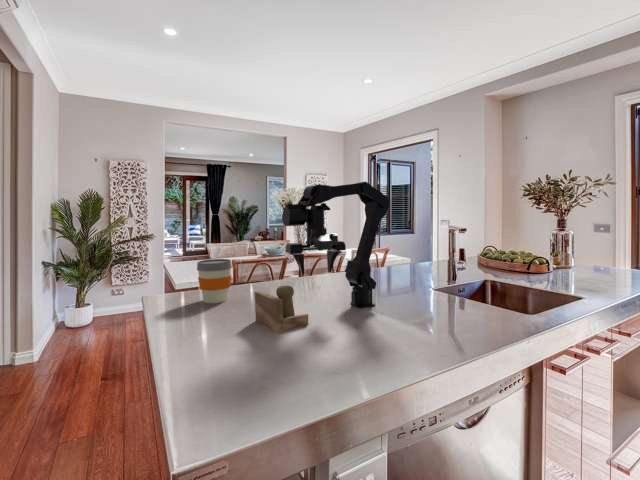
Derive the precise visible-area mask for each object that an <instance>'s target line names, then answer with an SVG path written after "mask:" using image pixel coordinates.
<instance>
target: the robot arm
mask: <svg viewBox="0 0 640 480" xmlns="http://www.w3.org/2000/svg"><path fill="white" fill-rule="evenodd" d="M352 195H353V196H354V195H357V196H358V197H359V200H360V201H361V203H363V204H364V214H365V222H364V224H363V228H362V233H361V234H360V235H361V236H360V239H359V243H358V246H357V249H356V252H355V256H354V258H353V259H352V260H347V263H346V268H345V269H344V272H345V278H346V280H347V282H348V283H349V286H350V287H352V289H351V293H350V294H351V296H350V297H351V298H350V299H351V301H350V305H352V306H354V307H356V308H358V309H359V308H360V309H361V308H366V307H367V308H368V307H373V306H376V303H374V302H373V290H375V289H376V286H377V281H375V280H374V278H373V277H372V276H371V273H372V272H371V271H372V268H371V267H372V266H371V263H370V258H371V256H372V255H371V254H372V251H373V249H374V248H373V247H374V243H375V241H376V237H377V234H378V230H379V226H380V222H381V221H382V219H383V218H384V217H385V216H386V215H387V213H388V210H389V209H390V204H391V202H390V199H389V197H388V196H387V195H386V194H383V192H382V191H380V190H378V189H377V188H376V187H373V186H372V184H370V183H369V182H367V181H361V182H356V183H350V184H343V185H327V184H314V185H308V186H306V187H305V188H304V189H303V192H302V196H301V197H300V198H299V201H298V202H297V204H294V203H284V209H283V211H282V214H281V219H282V220H281V221H282V223H283V226H285V227H296V226H297V227H298V226H301V227H302V226H304V225H305V224H306V227H305V229H304V230H305V231H304V232H306V240H305V244H302V243H300V242H291V243H290V242H289V243H288V242H287V244H286V245H285V247H284V248H285V253H287V254H289V255H290V256H292V257H293V259H294V260H295V262H296V264H297V266H298V269H299V271H300V273H301V275H302V276H304V275H305V264H304V257H305V254H304V253H303V252H304V251H317V250H318V251H326V256H327V257H326V259H327V260H326V261H327V263H326V265H327V271H328V273H329V274H330V273H332V270H333V266H334V263H335V261H336V259H337V257H338V255H339V254H342V253H343V251H346V250H347V249H346V247H347V246H346V242H344V241H343V240H339V237H338V236H339V234H337V233H335V232H334V233H330V234H328V233H327V228H325V211H331V208H330V206H328V204H326V203H325V202H328V201H331V200H332V199H335V198H340V197H346V196H352ZM318 204H320V205H318ZM308 207H310V208H308Z"/></svg>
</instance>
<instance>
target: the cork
mask: <svg viewBox="0 0 640 480" xmlns="http://www.w3.org/2000/svg"><path fill="white" fill-rule="evenodd" d="M275 293H276V297H277V298H279V299H281V300H282V302H283V318H287V317H291V316H296V314H295V308H294V307H295V306H294V302H293V301H294V300H293V296H294V294H295V290H294V287H293V286H291V285H279V286H278V287H277V289H276V292H275Z"/></svg>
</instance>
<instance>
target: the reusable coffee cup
mask: <svg viewBox="0 0 640 480" xmlns="http://www.w3.org/2000/svg"><path fill="white" fill-rule="evenodd" d="M231 269H232V261H231V259H230V258H229V259H226V258H212V259H204V260H199V261H197V263H196V270H197V272H198V277H197V278H198V284H199V289H200V290H201V293H202V298H203V303H205V304H220V303H221V304H222V303H225V302H226V301H229V292H230V288H231V283H232V274H231V272H232V271H231Z"/></svg>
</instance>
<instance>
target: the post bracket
mask: <svg viewBox="0 0 640 480" xmlns="http://www.w3.org/2000/svg"><path fill="white" fill-rule="evenodd" d="M254 303H255V304H254V306H255V307H254V308H255V309H254V310H255V321H256V322H257V323H259V324H261V325H262V326H263V327H265V328H267V329H269V330H270V331H271V332H273V333H274V334H281V333H284V331H287V330H290V329H295V328H298V327H303V326H307V325H309V314H308V313H306V312H305V313H301V314H295V316H291V317H287V318H283V302H282V300H281V299H279V298H278V296H275V295H271V294H269V293H268V292H265V291H262V290H258V291H257V290H256V291H254Z"/></svg>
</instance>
